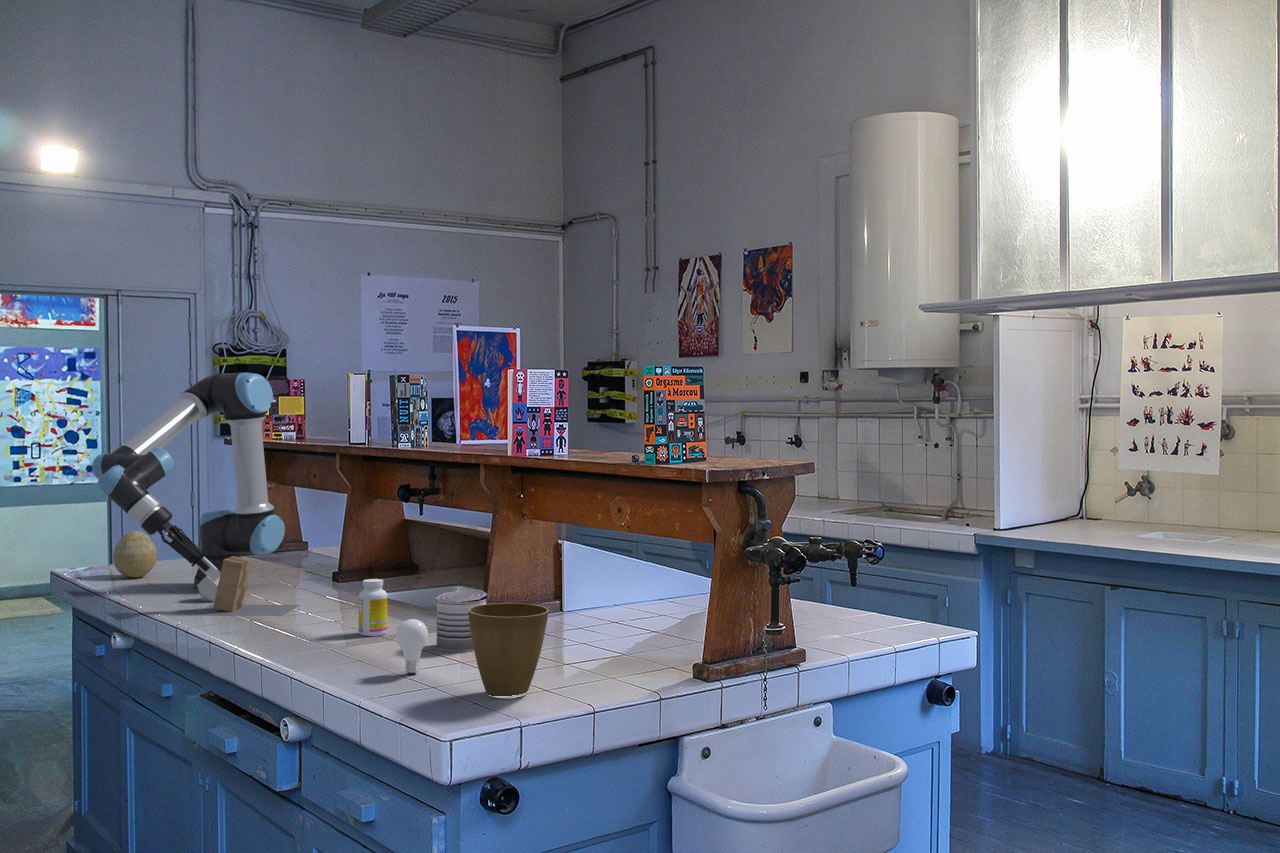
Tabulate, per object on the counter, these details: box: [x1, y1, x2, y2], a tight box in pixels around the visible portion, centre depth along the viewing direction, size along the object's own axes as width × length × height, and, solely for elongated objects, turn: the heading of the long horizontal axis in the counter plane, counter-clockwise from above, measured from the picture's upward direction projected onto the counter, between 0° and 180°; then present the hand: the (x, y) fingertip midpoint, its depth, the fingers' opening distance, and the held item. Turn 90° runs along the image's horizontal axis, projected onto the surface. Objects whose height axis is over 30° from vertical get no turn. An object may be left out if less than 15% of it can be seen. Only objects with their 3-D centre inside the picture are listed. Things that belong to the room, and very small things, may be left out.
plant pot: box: [468, 602, 550, 696], centre depth 201 cm, size 15×15×16 cm
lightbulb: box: [395, 618, 429, 675], centre depth 217 cm, size 6×6×11 cm
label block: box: [213, 556, 252, 612], centre depth 285 cm, size 7×5×13 cm
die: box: [197, 576, 220, 603], centre depth 300 cm, size 8×9×10 cm
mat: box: [189, 604, 301, 617], centre depth 285 cm, size 16×24×1 cm, turn 91°
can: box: [434, 589, 489, 653], centre depth 243 cm, size 11×11×12 cm
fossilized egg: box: [112, 530, 158, 579], centre depth 344 cm, size 13×13×15 cm
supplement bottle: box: [358, 578, 388, 637], centre depth 257 cm, size 7×7×13 cm
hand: (218, 577), depth 284 cm, fingers closed
